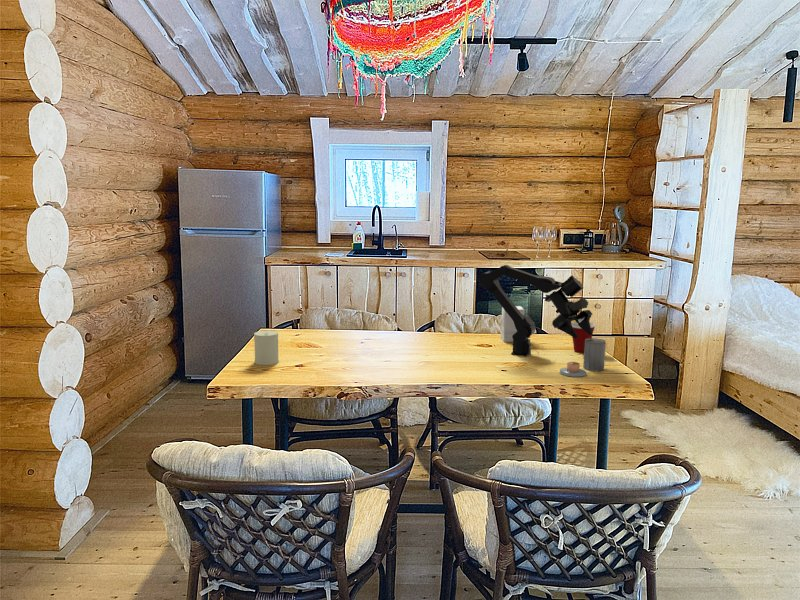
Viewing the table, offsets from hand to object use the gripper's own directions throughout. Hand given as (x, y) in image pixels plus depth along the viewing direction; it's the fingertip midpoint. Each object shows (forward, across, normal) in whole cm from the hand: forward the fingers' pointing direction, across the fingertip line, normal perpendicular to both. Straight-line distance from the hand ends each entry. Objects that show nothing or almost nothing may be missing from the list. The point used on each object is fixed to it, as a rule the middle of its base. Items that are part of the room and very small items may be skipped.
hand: (584, 336), depth 245 cm
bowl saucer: (+11, -12, +5) cm, 17 cm away
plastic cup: (-2, +18, +18) cm, 26 cm away
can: (-45, -97, +61) cm, 123 cm away
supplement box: (-24, +10, +40) cm, 48 cm away
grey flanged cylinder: (+12, 0, +4) cm, 13 cm away
